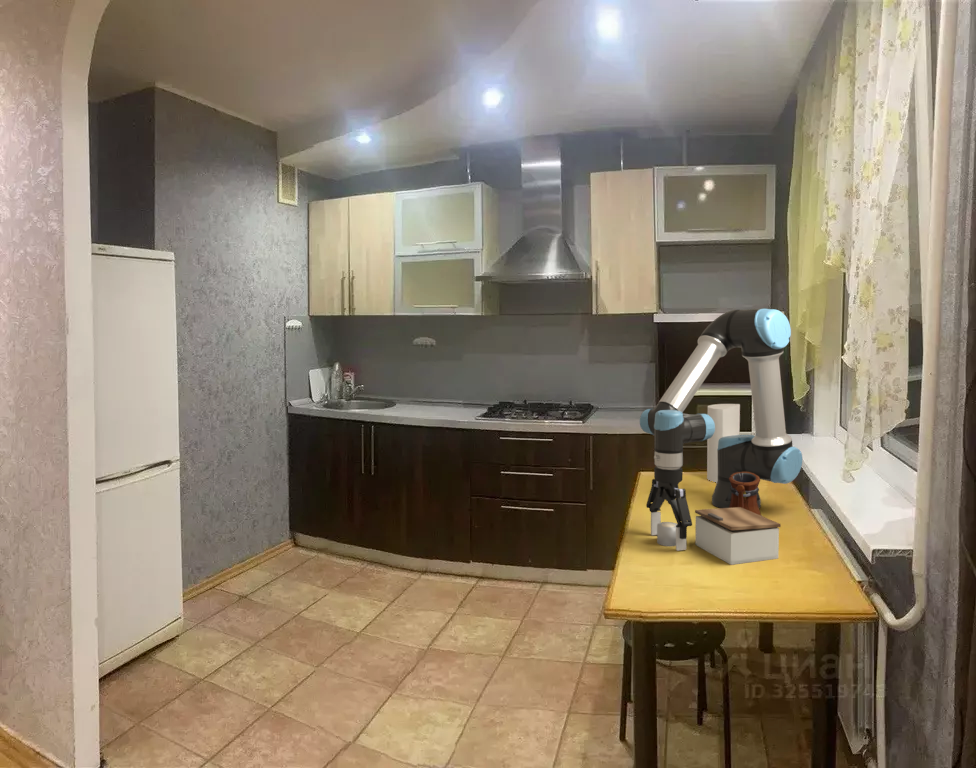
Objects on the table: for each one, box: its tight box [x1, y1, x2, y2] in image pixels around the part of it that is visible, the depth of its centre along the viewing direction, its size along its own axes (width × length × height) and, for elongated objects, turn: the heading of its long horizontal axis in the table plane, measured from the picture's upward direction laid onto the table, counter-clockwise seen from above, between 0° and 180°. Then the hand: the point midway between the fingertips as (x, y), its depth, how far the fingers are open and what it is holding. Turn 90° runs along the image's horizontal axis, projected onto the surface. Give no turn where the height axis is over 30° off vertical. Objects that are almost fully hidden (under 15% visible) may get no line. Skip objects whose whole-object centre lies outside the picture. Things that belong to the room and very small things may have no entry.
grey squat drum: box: [656, 521, 677, 547], centre depth 187 cm, size 6×6×5 cm
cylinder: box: [706, 403, 741, 484], centre depth 255 cm, size 17×17×28 cm
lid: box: [694, 507, 782, 530], centre depth 178 cm, size 14×16×1 cm
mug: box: [729, 472, 763, 516], centre depth 199 cm, size 18×12×15 cm, turn 153°
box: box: [695, 515, 780, 566], centre depth 179 cm, size 14×16×8 cm
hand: (667, 541), depth 187 cm, fingers open, 13 cm apart
